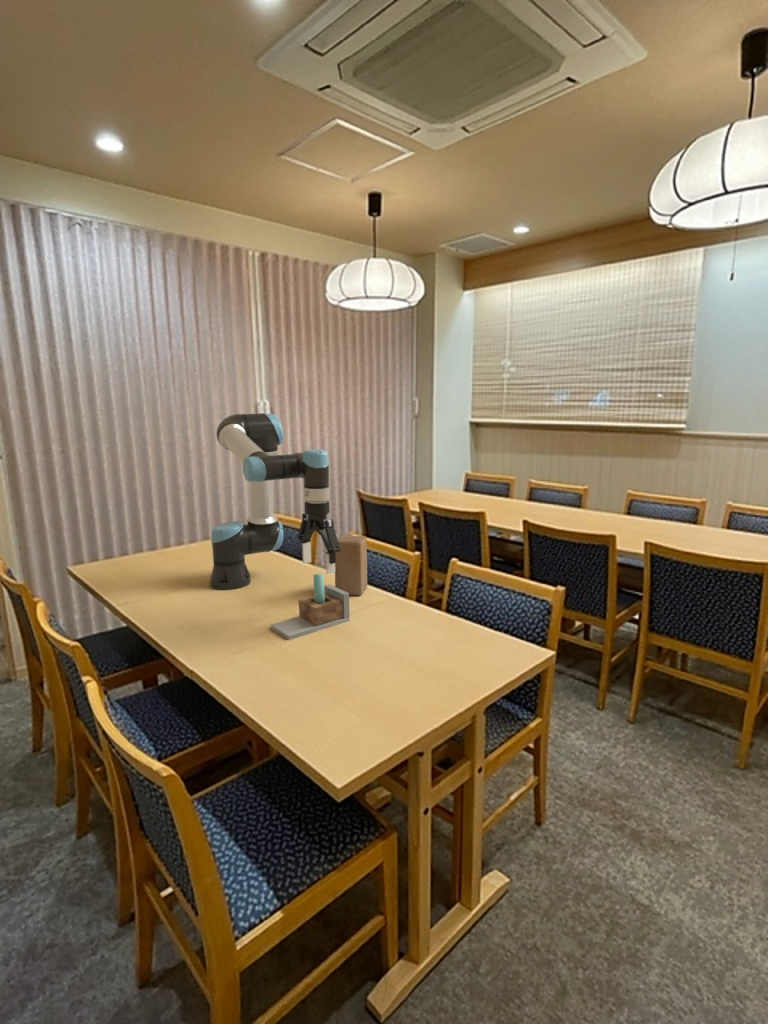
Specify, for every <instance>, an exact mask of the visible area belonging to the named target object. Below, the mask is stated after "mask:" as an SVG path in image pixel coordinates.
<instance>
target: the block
mask: <svg viewBox="0 0 768 1024" xmlns="http://www.w3.org/2000/svg"><path fill="white" fill-rule="evenodd" d="M367 539H368V538H367V536H365V535H343V534H342V535H340V537H337V540H338V543H339V547H340V551H339V552H336V554H335V555H336V558H335V559H336V562H335V573H334V585H335V586H334V587H336V588H338V589H341V590H343V591H345V592H348V593H349V596H362V595H363V593H364V592H365V591H366V589H367V588H368V553H367V552H368V551H367V550H368V544H367V543H368V542H367V541H368V540H367Z"/></svg>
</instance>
